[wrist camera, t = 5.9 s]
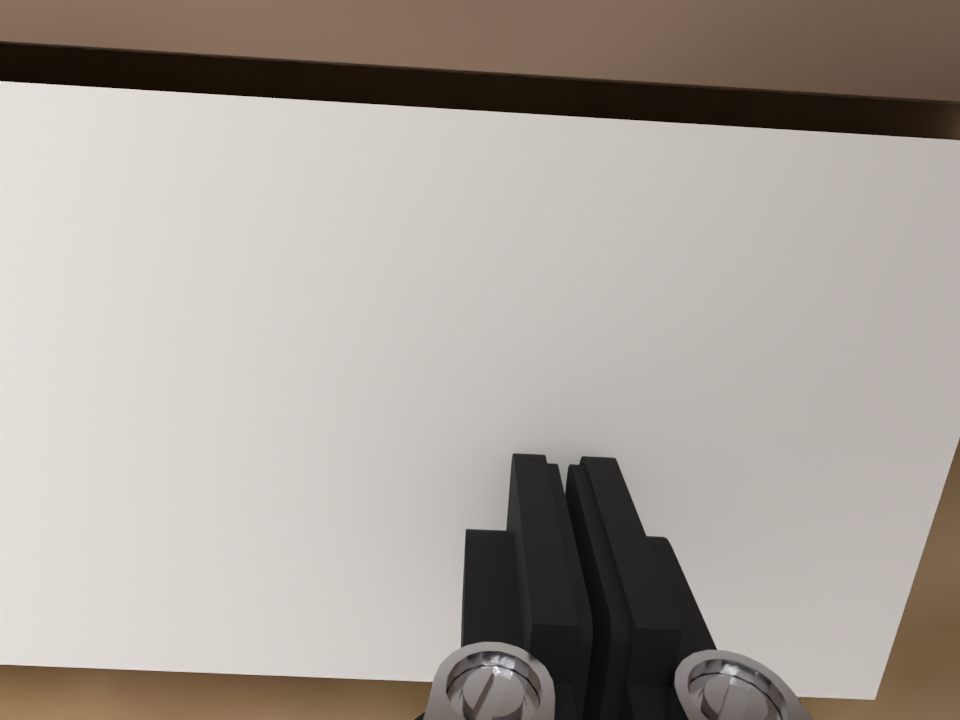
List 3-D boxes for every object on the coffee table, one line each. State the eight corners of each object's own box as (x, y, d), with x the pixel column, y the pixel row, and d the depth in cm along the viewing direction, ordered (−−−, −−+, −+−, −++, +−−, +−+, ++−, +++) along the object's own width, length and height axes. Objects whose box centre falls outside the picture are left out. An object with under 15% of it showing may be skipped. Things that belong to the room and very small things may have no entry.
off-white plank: (-521, 51, 11) (-735, 35, 9) (957, 142, 11) (1053, 146, 9) (-312, 576, 14) (-435, 646, 12) (822, 625, 15) (874, 699, 13)
